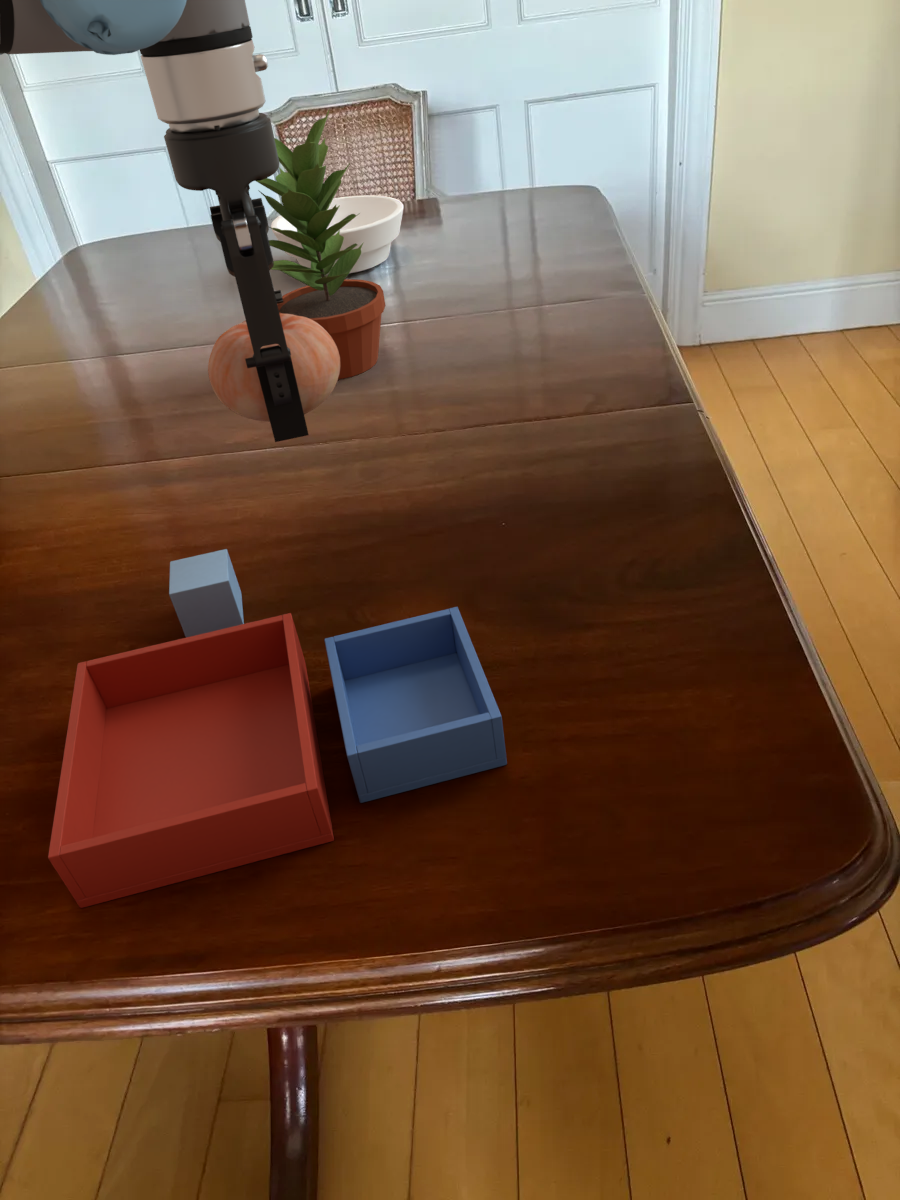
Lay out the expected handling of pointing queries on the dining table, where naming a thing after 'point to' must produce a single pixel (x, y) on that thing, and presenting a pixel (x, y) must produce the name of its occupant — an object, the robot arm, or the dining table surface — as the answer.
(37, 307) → the dining table surface
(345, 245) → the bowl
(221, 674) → the red bin
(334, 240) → the potted plant
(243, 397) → the tomato
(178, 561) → the blue block
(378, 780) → the blue bin
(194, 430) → the dining table surface
